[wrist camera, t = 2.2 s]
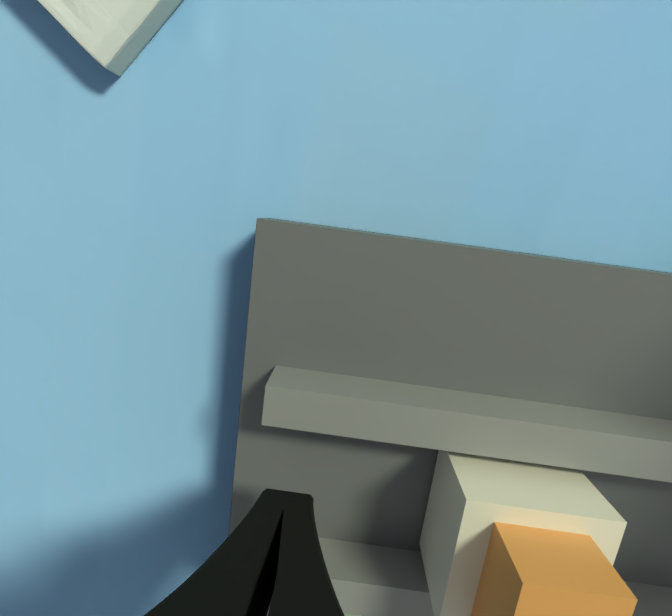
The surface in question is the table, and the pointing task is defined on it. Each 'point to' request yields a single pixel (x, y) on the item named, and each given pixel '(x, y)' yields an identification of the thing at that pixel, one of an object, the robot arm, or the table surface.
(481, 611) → the lever
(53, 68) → the table surface
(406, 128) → the table surface
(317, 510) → the breaker panel
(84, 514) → the table surface
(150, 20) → the external hard drive
